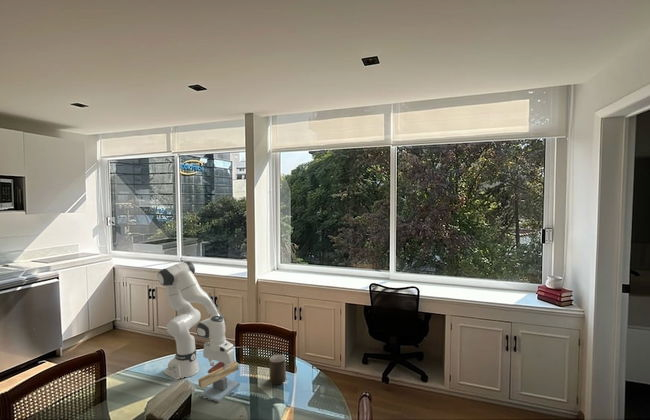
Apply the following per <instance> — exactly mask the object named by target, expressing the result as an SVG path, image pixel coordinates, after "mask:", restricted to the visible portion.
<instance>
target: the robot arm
mask: <svg viewBox="0 0 650 420" xmlns="http://www.w3.org/2000/svg"><path fill="white" fill-rule="evenodd" d="M195 272H196V268H195V265H194V263H192V261H182V262H181V263H180V262H179V263H175V264H173V265H171V266H168V267H166V268H163V269H161V270H159V271H158V273H157V279H158V282H159V284H160V285H162V286H164V287H165V292H166V295H167V296H166V297H167V299H168V300H167V301H168V304H169V307H170V308H171V309H173V310H175V311H176V312H177V314H178V315H176V316H175V317H174V318H172V319H171V320H170V321H168V323H167V324H166V332H167V333H168V335H170V336H172V337H173V338H174V340H175V347H176V351H175V352H174V354H173V355H175V356H174V357H173V358H172V359H170V361H169V362H168V363H167V368H165V369H164V371H163V374H164V375H167V376H168V377H171V378H172V379H175V380H181V379H185V378H184V377H186V378H191V377H192V376H195V375H196V374H198V372H199V371H200V367H199V366H200V363H199V362H198V355H197V348H196V339H195V335H193V334H191V332H190V329H191V328H193V327H194V326H195V327H196V329H195V331H196V334H197V336H198V337H199V338H203V339H209V341H205V342H204V344H203V353H202V356H203V358H205V359H208V362H209V364H210V366H211V367H213V366H214V365H215V361H216V362H223V363H224V364H225V366H223V369H224V370H226V369H227V365H228V364H231V363H232V362H233V361H234V354H235V353H234V349H233V348H234V344H233V343H231V342H230V341H228V340H227V339H226V324H227V323H226V321H227V319H226V318H225V316H224V315H223V314H222V313H221V312H220V310H219V308H218V306H217V305H216V304H215V302H214V300H213V299H212V297H211V296H210V294H209V293H208V292H207V291H205V290H204V289H203V288H202V287H201V286H200V284H199V281H198V280H197V278H196V276H195ZM192 303H193V304H194V303H195V304H201V305H202V306H204V307H205V309H206V311H207V313H208V315H209V316H210V317H209V318H206V319H204V320H201V318H202V315H201V312H200V310H198V309H197V308H195V307H193V305H192ZM180 378H181V379H180Z"/></svg>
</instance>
